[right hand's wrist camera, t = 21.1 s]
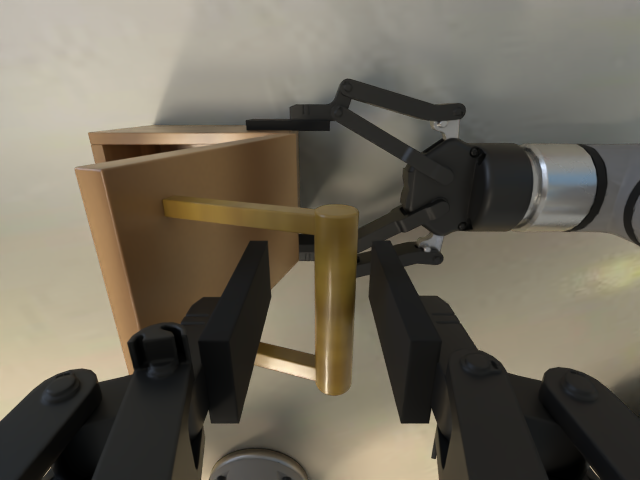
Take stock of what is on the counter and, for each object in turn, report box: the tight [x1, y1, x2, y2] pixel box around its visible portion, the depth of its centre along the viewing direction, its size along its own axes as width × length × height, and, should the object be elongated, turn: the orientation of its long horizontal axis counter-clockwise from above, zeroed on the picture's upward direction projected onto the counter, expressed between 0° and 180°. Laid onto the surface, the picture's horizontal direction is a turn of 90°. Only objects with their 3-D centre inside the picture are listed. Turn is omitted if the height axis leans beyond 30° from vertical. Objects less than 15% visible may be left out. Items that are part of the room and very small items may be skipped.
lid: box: [75, 133, 359, 396], centre depth 18 cm, size 15×10×9 cm
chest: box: [88, 125, 300, 208], centre depth 31 cm, size 14×10×10 cm
